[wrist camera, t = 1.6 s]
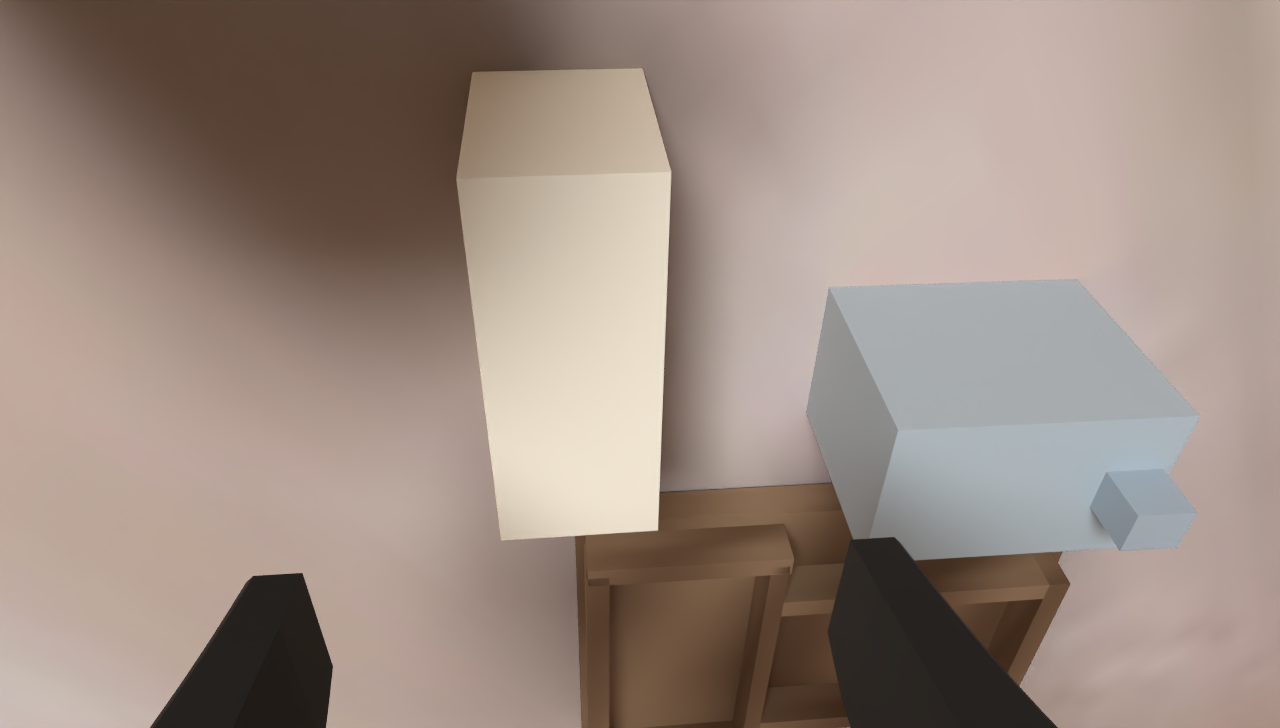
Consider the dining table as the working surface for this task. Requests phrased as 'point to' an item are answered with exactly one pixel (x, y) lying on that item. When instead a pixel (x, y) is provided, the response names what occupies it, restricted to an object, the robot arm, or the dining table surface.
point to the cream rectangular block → (568, 294)
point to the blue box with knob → (996, 421)
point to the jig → (760, 611)
